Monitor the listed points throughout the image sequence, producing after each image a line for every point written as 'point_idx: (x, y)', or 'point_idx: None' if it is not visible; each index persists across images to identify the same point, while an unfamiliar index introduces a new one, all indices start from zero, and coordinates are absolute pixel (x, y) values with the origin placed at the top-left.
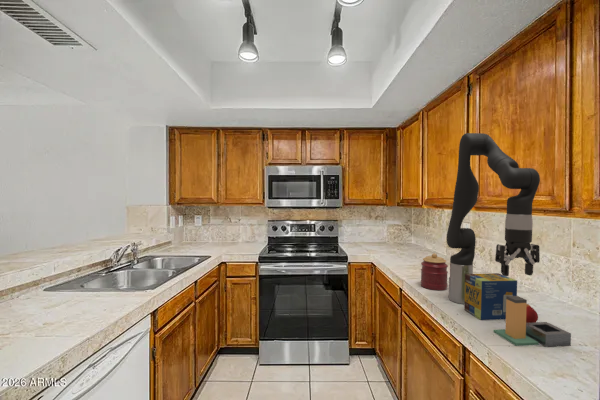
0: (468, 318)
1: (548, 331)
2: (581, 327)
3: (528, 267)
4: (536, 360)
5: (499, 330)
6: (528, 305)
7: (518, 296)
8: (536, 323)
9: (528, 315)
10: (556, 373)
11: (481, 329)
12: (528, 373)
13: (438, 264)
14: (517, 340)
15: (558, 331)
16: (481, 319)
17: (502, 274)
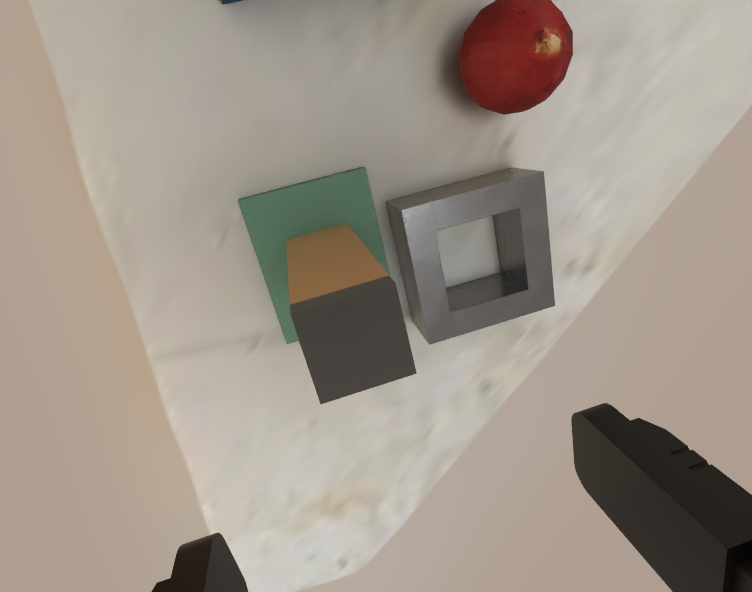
0: None
1: (505, 217)
2: (736, 60)
3: (664, 550)
4: (309, 438)
5: (268, 206)
6: (548, 52)
7: (397, 300)
8: (474, 205)
9: (495, 104)
10: (329, 501)
11: (178, 172)
12: (233, 526)
13: None
14: None
15: (514, 294)
16: (227, 2)
17: (186, 547)
